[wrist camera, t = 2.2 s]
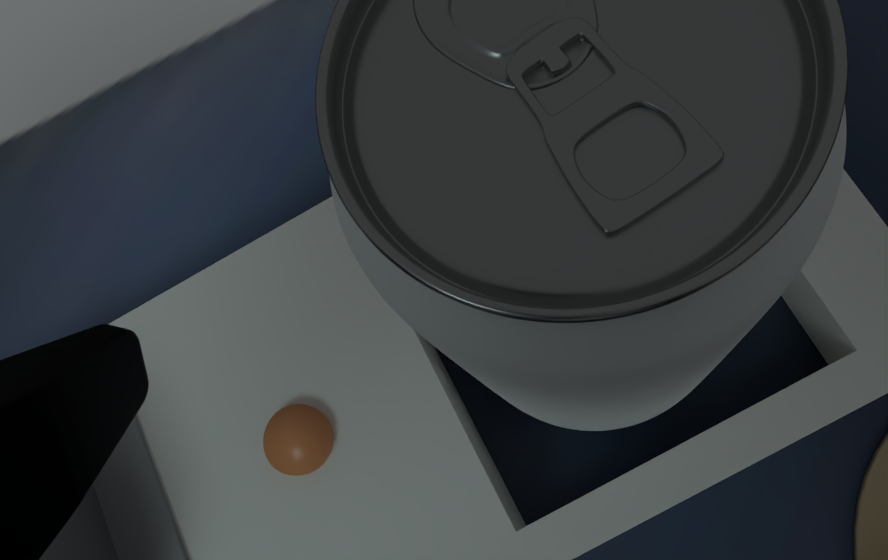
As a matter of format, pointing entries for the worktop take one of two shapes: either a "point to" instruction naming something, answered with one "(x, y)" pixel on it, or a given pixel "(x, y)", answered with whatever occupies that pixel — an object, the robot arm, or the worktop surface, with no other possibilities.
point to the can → (583, 182)
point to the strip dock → (411, 413)
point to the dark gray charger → (83, 535)
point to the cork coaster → (873, 509)
